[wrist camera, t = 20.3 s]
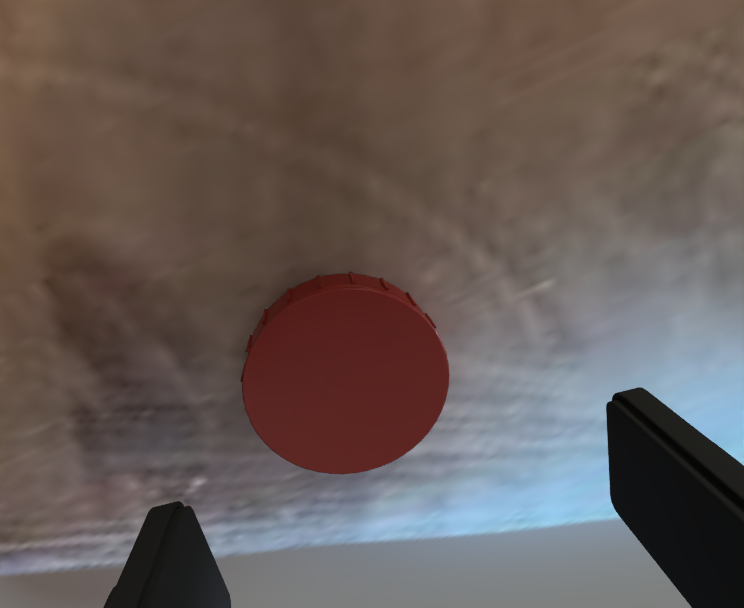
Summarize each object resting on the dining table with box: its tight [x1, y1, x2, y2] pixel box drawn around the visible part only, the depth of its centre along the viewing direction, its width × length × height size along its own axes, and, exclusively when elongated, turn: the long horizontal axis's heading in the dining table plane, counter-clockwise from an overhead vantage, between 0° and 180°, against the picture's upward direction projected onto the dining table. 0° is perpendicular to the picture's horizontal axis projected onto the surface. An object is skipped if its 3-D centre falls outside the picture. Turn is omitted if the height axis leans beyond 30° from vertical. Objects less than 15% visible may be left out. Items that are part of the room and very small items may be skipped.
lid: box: [241, 272, 449, 474], centre depth 17 cm, size 7×7×2 cm
